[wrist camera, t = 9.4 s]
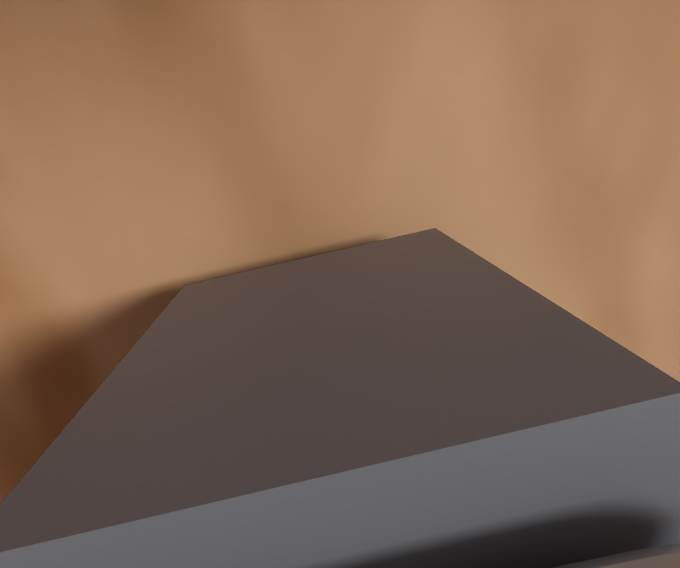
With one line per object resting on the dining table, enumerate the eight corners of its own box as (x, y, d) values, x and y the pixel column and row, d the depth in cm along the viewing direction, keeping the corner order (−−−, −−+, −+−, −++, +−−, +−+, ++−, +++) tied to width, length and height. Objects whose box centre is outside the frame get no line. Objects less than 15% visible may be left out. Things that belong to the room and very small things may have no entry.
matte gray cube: (435, 228, 13) (691, 389, 4) (463, 434, 15) (660, 789, 7) (184, 285, 13) (-50, 563, 4) (254, 483, 15) (195, 904, 7)
